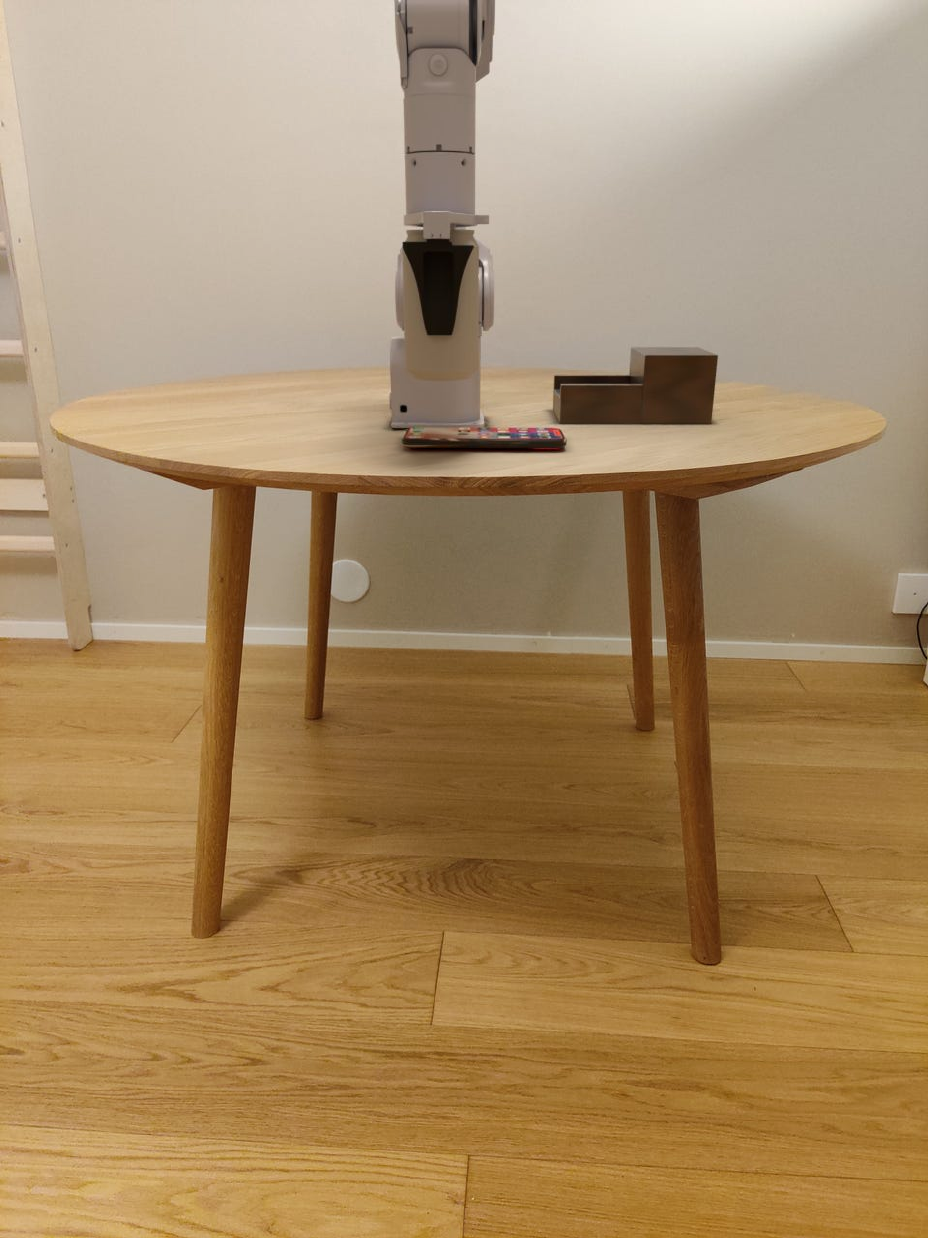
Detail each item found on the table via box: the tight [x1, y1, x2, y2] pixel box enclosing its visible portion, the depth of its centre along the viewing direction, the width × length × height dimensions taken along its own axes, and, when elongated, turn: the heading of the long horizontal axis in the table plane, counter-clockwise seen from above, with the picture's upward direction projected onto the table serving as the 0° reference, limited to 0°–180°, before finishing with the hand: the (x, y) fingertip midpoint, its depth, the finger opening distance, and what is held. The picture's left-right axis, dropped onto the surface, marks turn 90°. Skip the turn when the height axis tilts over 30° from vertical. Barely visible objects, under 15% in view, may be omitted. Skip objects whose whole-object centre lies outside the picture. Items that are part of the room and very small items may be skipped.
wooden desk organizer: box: [552, 346, 719, 425], centre depth 100 cm, size 16×9×7 cm, turn 90°
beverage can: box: [401, 229, 479, 381], centre depth 78 cm, size 6×6×12 cm
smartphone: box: [401, 426, 567, 450], centre depth 86 cm, size 7×1×15 cm
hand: (441, 332), depth 79 cm, fingers closed on beverage can, 6 cm apart
